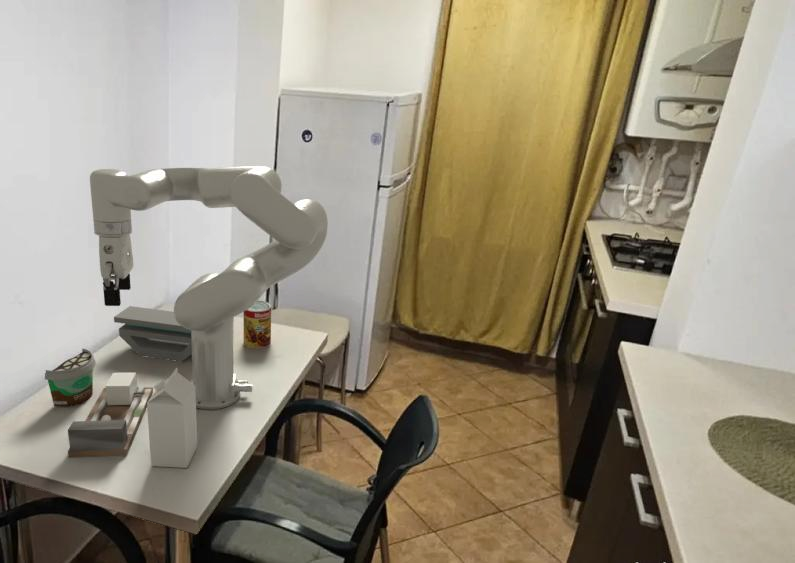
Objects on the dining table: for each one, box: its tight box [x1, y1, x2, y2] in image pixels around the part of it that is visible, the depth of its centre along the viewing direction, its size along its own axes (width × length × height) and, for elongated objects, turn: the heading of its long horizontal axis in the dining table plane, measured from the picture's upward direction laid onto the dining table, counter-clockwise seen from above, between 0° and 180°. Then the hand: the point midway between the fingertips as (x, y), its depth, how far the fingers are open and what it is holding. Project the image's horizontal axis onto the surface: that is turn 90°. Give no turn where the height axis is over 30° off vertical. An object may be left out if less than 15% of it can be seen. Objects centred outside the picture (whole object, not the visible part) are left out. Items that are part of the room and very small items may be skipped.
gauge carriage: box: [105, 372, 145, 405], centre depth 130 cm, size 7×7×5 cm
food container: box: [44, 348, 96, 408], centre depth 130 cm, size 12×6×10 cm, turn 168°
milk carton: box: [146, 367, 198, 469], centre depth 112 cm, size 7×7×19 cm
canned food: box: [243, 300, 272, 350], centre depth 164 cm, size 8×8×12 cm
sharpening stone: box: [113, 305, 192, 362], centre depth 154 cm, size 25×8×11 cm, turn 84°
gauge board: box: [67, 385, 154, 458], centre depth 124 cm, size 24×11×6 cm, turn 11°
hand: (118, 297), depth 130 cm, fingers open, 9 cm apart
